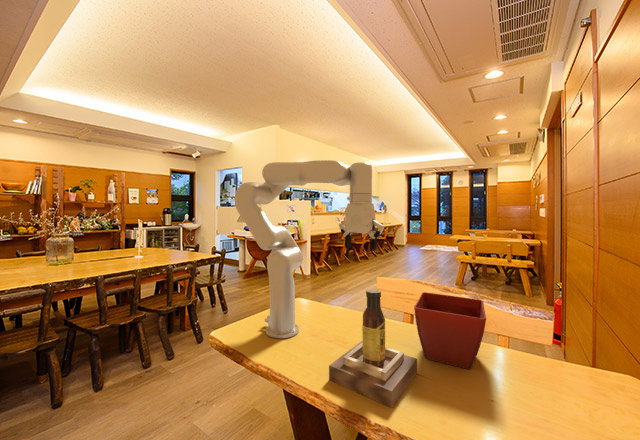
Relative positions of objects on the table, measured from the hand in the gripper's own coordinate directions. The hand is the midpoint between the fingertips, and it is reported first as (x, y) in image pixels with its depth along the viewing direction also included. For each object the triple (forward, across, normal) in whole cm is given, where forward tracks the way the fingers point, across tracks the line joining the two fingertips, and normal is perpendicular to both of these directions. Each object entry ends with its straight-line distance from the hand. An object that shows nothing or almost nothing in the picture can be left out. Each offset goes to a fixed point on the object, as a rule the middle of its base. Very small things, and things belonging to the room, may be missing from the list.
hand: (360, 249), depth 96 cm
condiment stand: (+33, +13, -14) cm, 38 cm away
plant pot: (+33, +27, +11) cm, 44 cm away
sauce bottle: (+29, +13, -14) cm, 35 cm away
